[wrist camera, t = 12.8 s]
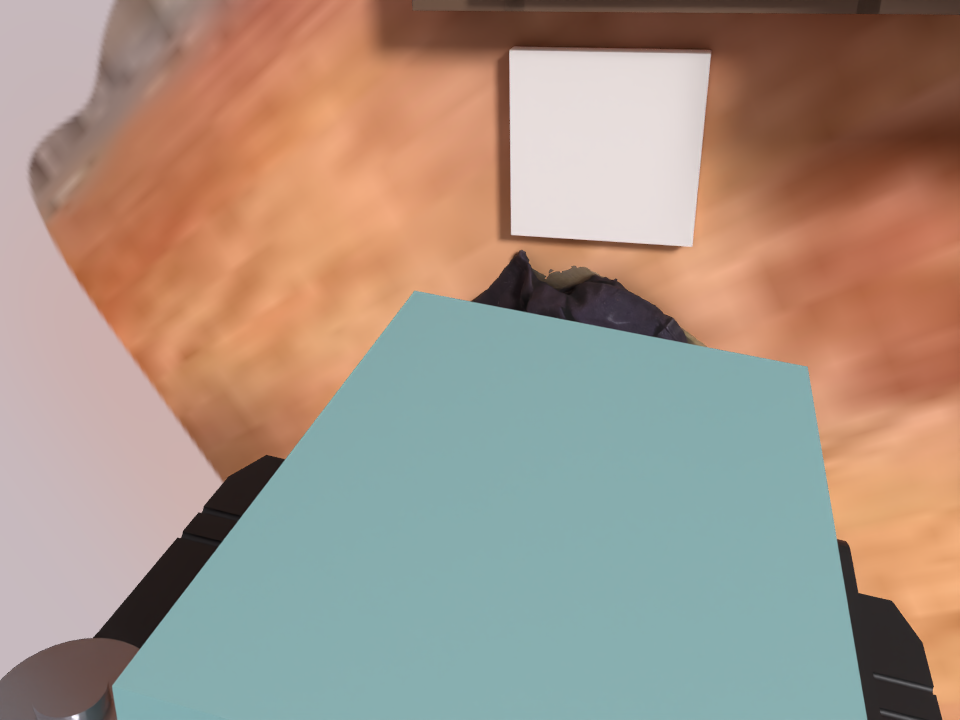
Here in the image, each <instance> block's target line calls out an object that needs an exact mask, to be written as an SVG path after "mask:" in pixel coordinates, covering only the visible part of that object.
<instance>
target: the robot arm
mask: <svg viewBox="0 0 960 720" xmlns="http://www.w3.org/2000/svg"><path fill="white" fill-rule="evenodd" d="M284 461H285V459H281V458H277V457H273V456H268V455H266V456H264V457H262V458H260V459H259V460H257V461H255V462H253V463H252V464H250V465H248V466H246V467H245V468H243V469H241V470H239V471H238V472H236V473H234V474H232V475H231V476H229V477H228V478H227V479H226V480H225V482H224V483H223V484H222V485H221V486H220V488H219V489H218V490H217V491H216V493H215V494H214V495H213V496H212V497H211V498H210V499H209V501H208V502H207V503H206V504H205V506H204V509H203V512H202V513H198V514H197V515H196V516H195V517H194V519H193V520H192V521H191V522H190V523H189V525H188V526H187V527H186V528H185V529H184V531H183V534H182V537H181V538H177V539H176V540H175V541H174V543H173V544H172V545H171V546H170V547H169V548H168V550H167V551H166V552H165V553H164V554H163V556H162V557H161V558H160V559H159V560H158V561H157V563H156V564H155V565H154V566H153V568H152V569H151V570H150V571H149V572H148V573H147V575H146V576H145V577H144V578H143V579H142V581H141V582H140V583H139V584H138V585H137V587H136V588H135V589H134V590H133V592H132V593H131V594H130V595H129V596H128V597H127V599H126V600H125V601H124V602H123V603H122V605H121V606H120V607H119V608H118V609H117V610H116V612H115V613H114V614H113V615H112V617H111V618H110V619H109V620H108V621H107V622H106V624H105V625H104V626H103V627H102V628H101V630H100V631H99V632H98V633H97V634H96V635H95V636H94V637H93V638H87V639H79V640H73V641H68V642H65V643H61V644H58V645H55V646H52V647H50V648H47V649H45V650H42V651H40V652H38V653H36V654H34V655H33V656H31V657H29V658H27V659H26V660H24V661H23V662H21V663H20V664H18V665H17V666H16V667H14V668H13V669H12V670H11V671H10V672H8V673H7V674H6V675H5V676H4V677H3V678H2V679H1V680H0V720H117V715H116V708H115V702H114V696H113V690H112V685H113V684H114V683H115V681H116V680H117V679H118V677H119V676H120V675H121V673H122V672H123V671H124V669H125V668H126V667H127V666H128V664H129V663H130V662H131V660H132V659H133V658H134V656H135V655H136V654H137V653H138V651H139V650H140V649H141V647H142V646H143V645H144V643H145V642H146V641H147V639H148V638H149V637H150V636H151V634H152V633H153V632H154V630H155V629H156V628H157V626H158V625H159V624H160V622H161V621H162V620H163V619H164V617H165V616H166V615H167V613H168V612H169V611H170V609H171V608H172V607H173V606H174V604H175V603H176V602H177V600H178V599H179V598H180V596H181V595H182V594H183V592H184V591H185V590H186V589H187V587H188V586H189V585H190V583H191V582H192V581H193V579H194V578H195V577H196V575H197V574H198V573H199V572H200V570H201V569H202V568H203V566H204V565H205V564H206V562H207V561H208V560H209V559H210V557H211V556H212V555H213V553H214V552H215V551H216V549H217V548H218V547H219V545H220V544H221V543H222V542H223V540H224V539H225V538H226V536H227V535H228V534H229V532H230V531H231V530H232V529H233V527H234V526H235V525H236V523H237V522H238V521H239V519H240V518H241V517H242V515H243V514H244V513H245V512H246V510H247V509H248V508H249V506H250V505H251V504H252V502H253V501H254V500H255V498H256V497H257V496H258V495H259V493H260V492H261V491H262V489H263V488H264V487H265V485H266V484H267V483H268V482H269V480H270V479H271V478H272V476H273V475H274V474H275V472H276V471H277V470H278V468H279V467H280V466H281V465H282V463H283V462H284ZM837 544H838V550H839V556H840V562H841V568H842V573H843V579H844V585H845V591H846V597H847V603H848V609H849V615H850V621H851V627H852V632H853V638H854V644H855V650H856V656H857V662H858V668H859V674H860V680H861V686H862V691H863V697H864V703H865V709H866V715H867V720H942V717H941V713H940V709H939V705H938V701H937V697H936V695H933V687H934V686H933V682H932V678H931V674H930V670H929V666H928V662H927V659H926V655H925V651H924V647H923V643H922V641H921V640H920V639H919V637H918V636H917V635H916V633H915V632H914V631H913V629H912V628H911V626H910V625H909V624H908V622H907V621H906V620H905V618H904V617H903V615H902V614H901V613H900V611H899V610H898V609H897V607H896V606H895V604H894V603H893V602H892V601H890V600H886V599H882V598H877V597H873V596H869V595H864V594H860V593H858V589H857V583H856V578H855V573H854V567H853V562H852V556H851V551H850V547H849V545H848V543H847V542H846V541H843V540H838V539H837Z"/></svg>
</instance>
